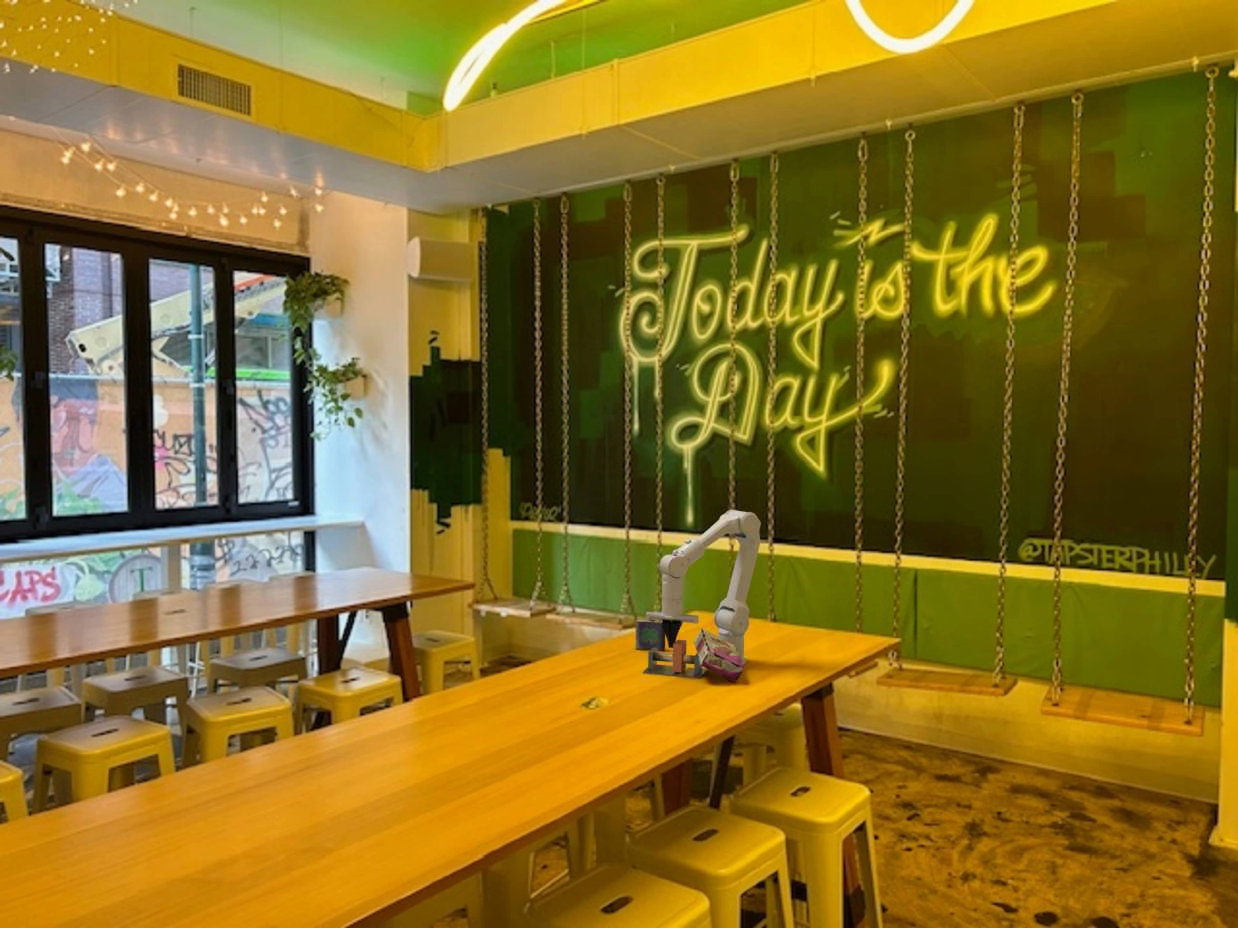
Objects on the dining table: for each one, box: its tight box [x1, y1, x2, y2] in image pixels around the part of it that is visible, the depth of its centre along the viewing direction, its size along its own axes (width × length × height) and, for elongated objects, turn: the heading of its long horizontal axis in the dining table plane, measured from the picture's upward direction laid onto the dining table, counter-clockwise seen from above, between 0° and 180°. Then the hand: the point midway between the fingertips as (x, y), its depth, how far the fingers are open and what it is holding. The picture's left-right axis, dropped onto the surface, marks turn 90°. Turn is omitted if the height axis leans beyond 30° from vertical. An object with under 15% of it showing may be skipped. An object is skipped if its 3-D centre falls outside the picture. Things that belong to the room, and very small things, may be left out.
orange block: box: [672, 639, 687, 672], centre depth 257 cm, size 6×2×8 cm, turn 163°
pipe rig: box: [642, 648, 708, 679], centre depth 258 cm, size 9×16×6 cm, turn 73°
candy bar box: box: [693, 628, 745, 683], centre depth 254 cm, size 11×5×16 cm
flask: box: [635, 619, 666, 653], centre depth 282 cm, size 9×3×11 cm, turn 76°
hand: (671, 647), depth 258 cm, fingers closed
